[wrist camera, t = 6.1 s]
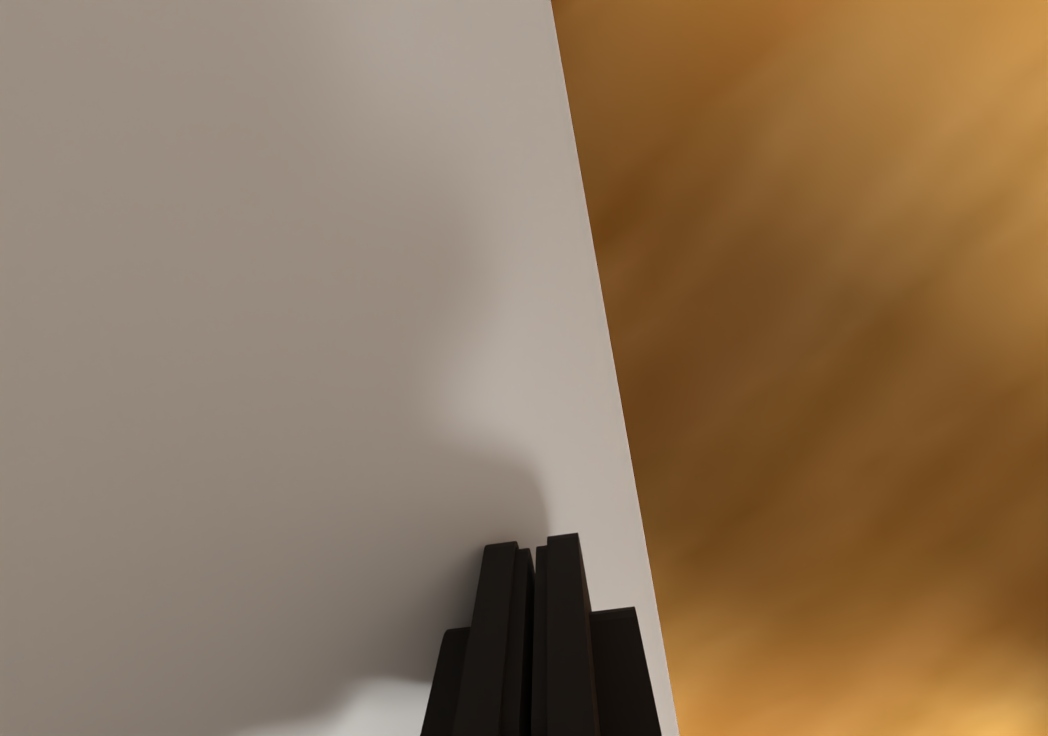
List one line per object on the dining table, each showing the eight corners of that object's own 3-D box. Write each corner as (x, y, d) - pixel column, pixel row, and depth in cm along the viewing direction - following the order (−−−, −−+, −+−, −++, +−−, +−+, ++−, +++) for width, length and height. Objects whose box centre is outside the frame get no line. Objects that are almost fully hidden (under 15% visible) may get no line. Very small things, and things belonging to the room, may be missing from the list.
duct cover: (675, 832, 17) (700, 852, 16) (249, 1443, 10) (265, 1520, 9) (500, -76, 10) (533, -99, 9) (-1422, -280, 3) (-1809, -436, 2)
